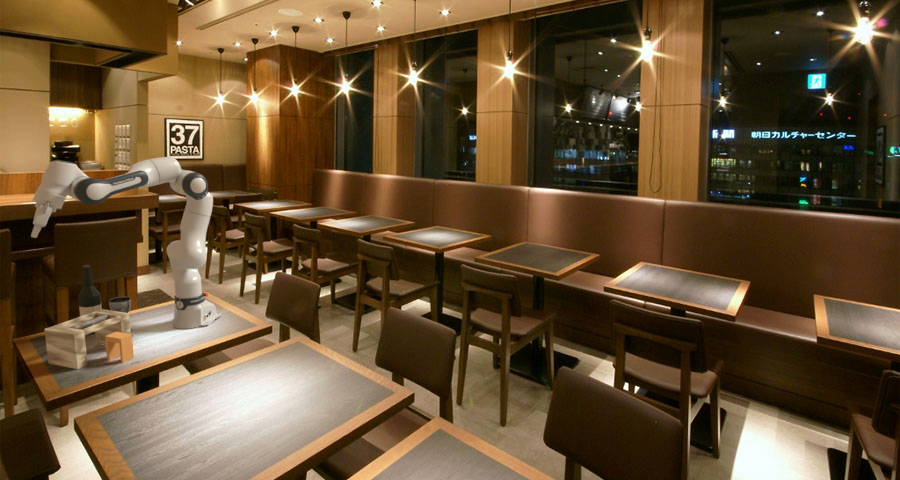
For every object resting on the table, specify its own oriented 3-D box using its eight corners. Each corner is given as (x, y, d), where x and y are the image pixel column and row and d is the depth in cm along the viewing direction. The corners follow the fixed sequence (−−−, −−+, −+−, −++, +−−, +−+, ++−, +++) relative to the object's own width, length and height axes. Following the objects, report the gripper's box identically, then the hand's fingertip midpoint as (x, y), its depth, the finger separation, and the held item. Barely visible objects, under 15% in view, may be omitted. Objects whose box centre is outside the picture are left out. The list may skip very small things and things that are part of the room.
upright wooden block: (118, 355, 203) (116, 331, 201) (133, 357, 201) (131, 334, 199) (107, 360, 198) (105, 336, 196) (123, 363, 197) (120, 338, 194)
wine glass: (137, 329, 229) (134, 297, 226) (124, 335, 221) (121, 303, 218) (121, 327, 230) (118, 296, 227) (107, 334, 222) (104, 301, 219)
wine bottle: (99, 326, 230) (93, 262, 224) (107, 330, 226) (101, 265, 220) (78, 331, 224) (71, 265, 218) (85, 336, 219) (78, 269, 213)
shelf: (104, 340, 216) (101, 309, 213) (131, 344, 213) (129, 313, 210) (48, 363, 193) (44, 329, 190) (77, 369, 190) (74, 334, 187)
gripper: (59, 204, 181) (44, 241, 179) (58, 203, 197) (44, 237, 195) (37, 198, 177) (22, 235, 175) (38, 197, 193) (23, 231, 191)
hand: (33, 236), depth 185 cm, fingers open, 8 cm apart
